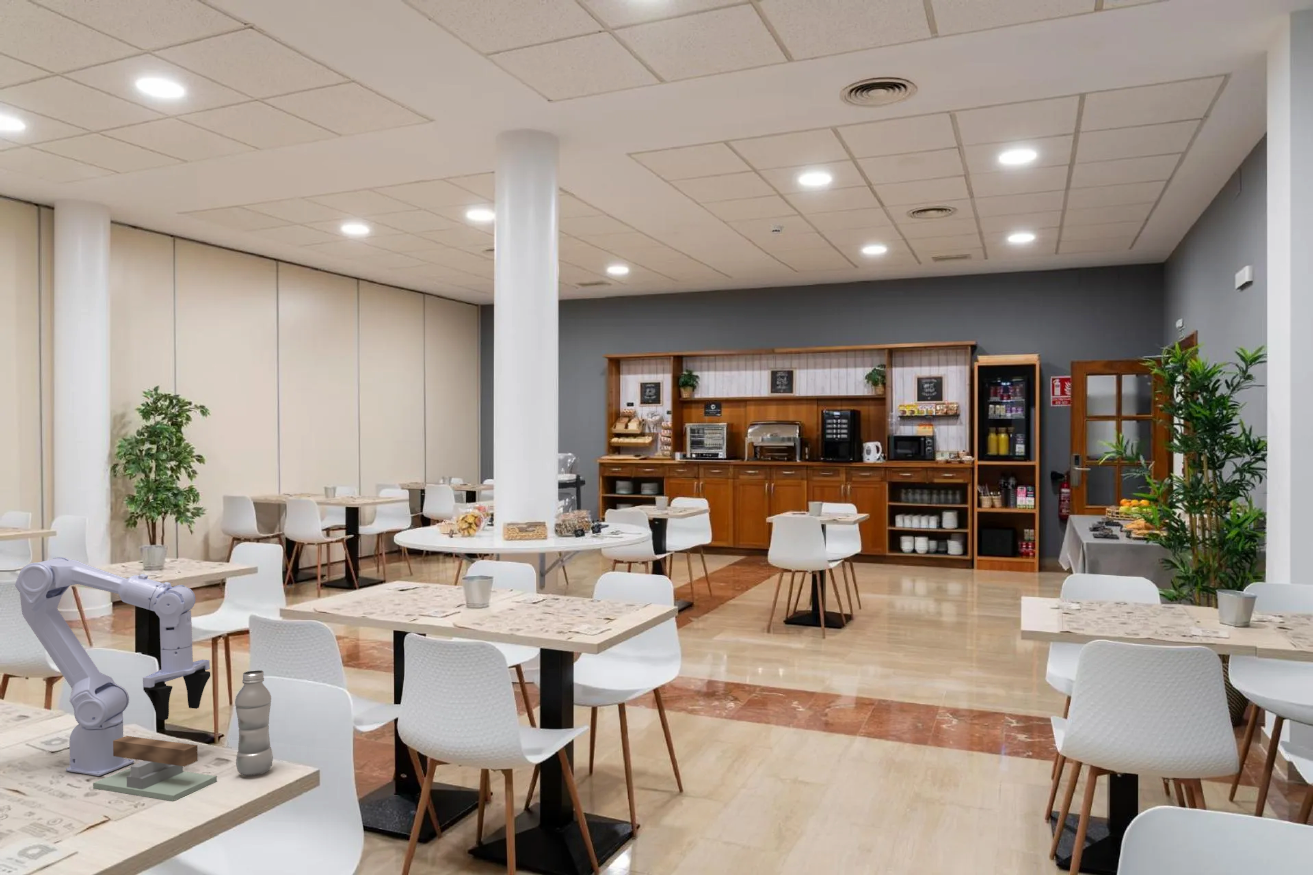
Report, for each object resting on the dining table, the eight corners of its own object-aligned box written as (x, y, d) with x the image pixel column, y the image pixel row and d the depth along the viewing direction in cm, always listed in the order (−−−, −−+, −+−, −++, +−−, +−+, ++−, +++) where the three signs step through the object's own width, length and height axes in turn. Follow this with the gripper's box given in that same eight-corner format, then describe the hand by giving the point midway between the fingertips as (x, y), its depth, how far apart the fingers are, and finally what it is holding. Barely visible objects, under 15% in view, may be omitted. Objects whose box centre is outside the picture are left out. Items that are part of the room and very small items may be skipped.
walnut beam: (113, 756, 174) (113, 740, 174) (127, 750, 177) (126, 735, 177) (184, 766, 168) (184, 750, 168) (197, 760, 171) (197, 745, 171)
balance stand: (93, 787, 171) (92, 761, 171) (139, 769, 181) (138, 744, 181) (173, 800, 165) (172, 773, 165) (216, 781, 174) (216, 755, 174)
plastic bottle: (271, 777, 176) (269, 674, 176) (233, 781, 174) (231, 677, 174) (275, 765, 182) (273, 666, 182) (238, 769, 180) (237, 669, 180)
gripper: (161, 656, 175) (163, 725, 175) (220, 639, 189) (222, 704, 189) (134, 654, 178) (136, 723, 178) (194, 638, 191) (196, 702, 191)
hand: (178, 713), depth 183 cm, fingers open, 7 cm apart
